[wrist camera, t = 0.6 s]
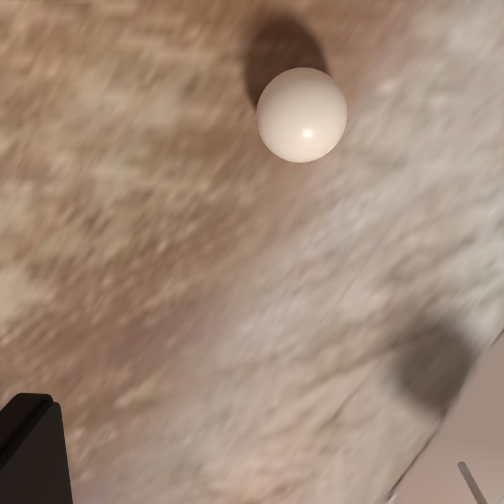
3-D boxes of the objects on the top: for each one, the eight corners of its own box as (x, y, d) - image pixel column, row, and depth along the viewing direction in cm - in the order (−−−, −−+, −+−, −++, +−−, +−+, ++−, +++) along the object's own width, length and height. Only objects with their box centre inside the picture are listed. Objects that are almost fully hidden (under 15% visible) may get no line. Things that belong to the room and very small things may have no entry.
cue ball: (353, 89, 28) (371, 81, 23) (322, 169, 29) (332, 180, 24) (273, 60, 28) (273, 46, 22) (247, 142, 29) (241, 147, 24)
